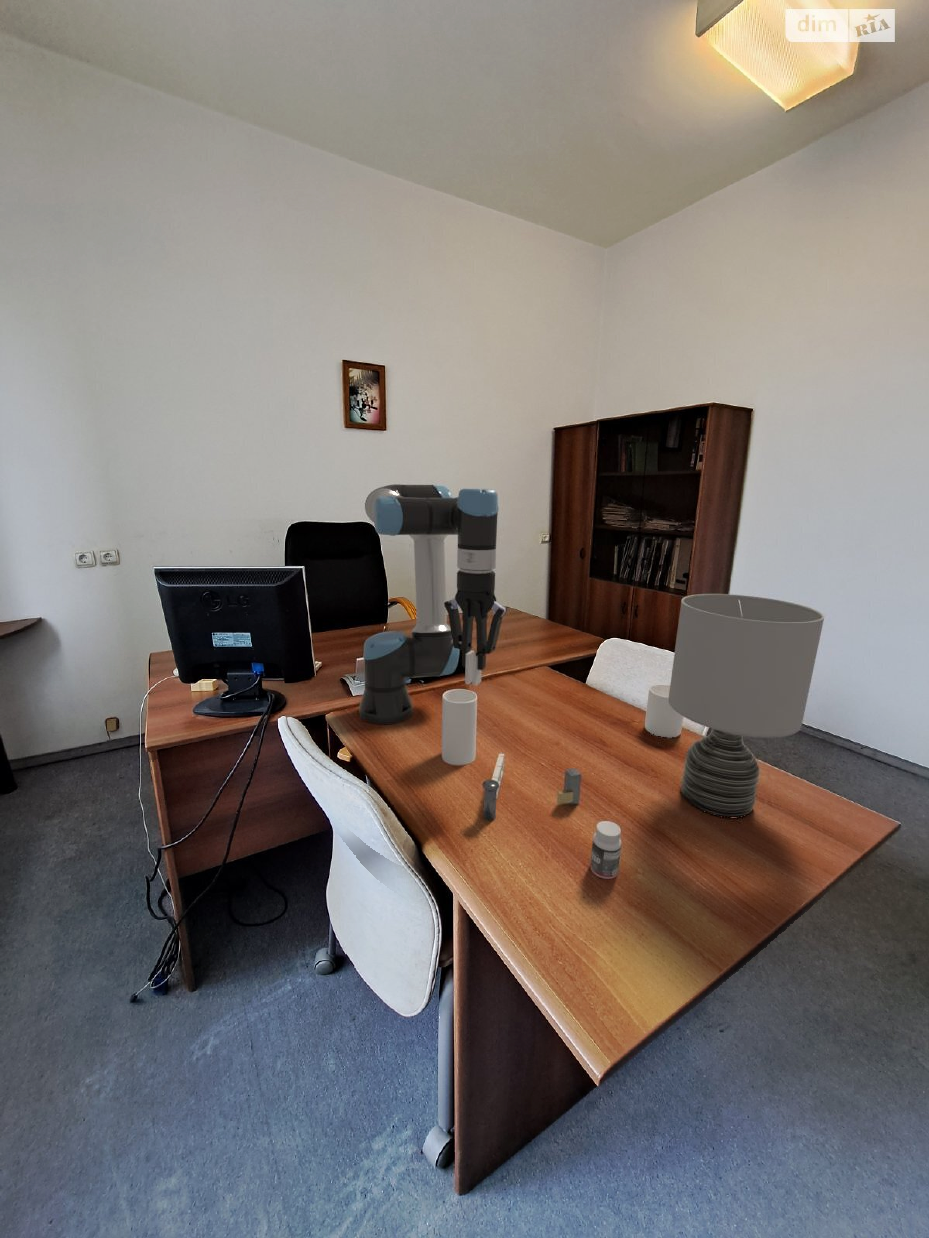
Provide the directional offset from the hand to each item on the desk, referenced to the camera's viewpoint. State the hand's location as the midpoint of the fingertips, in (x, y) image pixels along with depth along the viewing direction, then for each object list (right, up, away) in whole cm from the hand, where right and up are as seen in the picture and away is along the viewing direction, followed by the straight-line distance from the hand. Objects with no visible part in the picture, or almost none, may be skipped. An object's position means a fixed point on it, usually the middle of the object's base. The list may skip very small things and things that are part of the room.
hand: (473, 682), depth 104 cm
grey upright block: (+19, -25, +1) cm, 32 cm away
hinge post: (+3, -26, -4) cm, 27 cm away
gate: (+5, -24, +5) cm, 25 cm away
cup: (-3, -21, +18) cm, 28 cm away
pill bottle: (+22, -30, -17) cm, 41 cm away
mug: (+52, -17, +35) cm, 65 cm away
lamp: (+52, -26, +4) cm, 58 cm away
